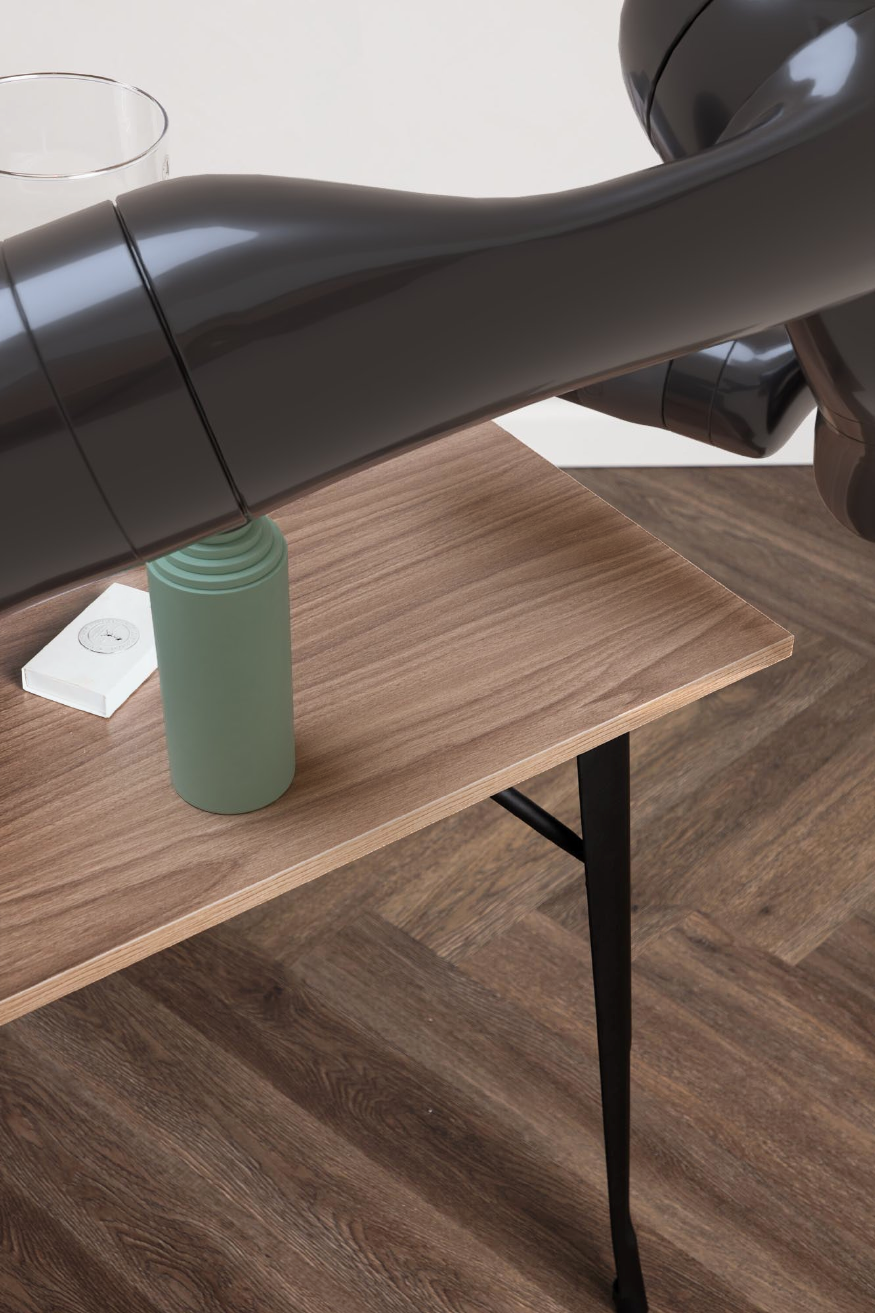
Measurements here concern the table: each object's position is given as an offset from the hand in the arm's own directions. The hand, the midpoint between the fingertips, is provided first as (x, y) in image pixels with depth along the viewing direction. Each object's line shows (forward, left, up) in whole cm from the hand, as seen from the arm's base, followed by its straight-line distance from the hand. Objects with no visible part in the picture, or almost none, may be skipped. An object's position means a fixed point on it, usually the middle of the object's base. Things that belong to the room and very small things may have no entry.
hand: (356, 258), depth 82 cm
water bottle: (-18, -19, -16) cm, 31 cm away
